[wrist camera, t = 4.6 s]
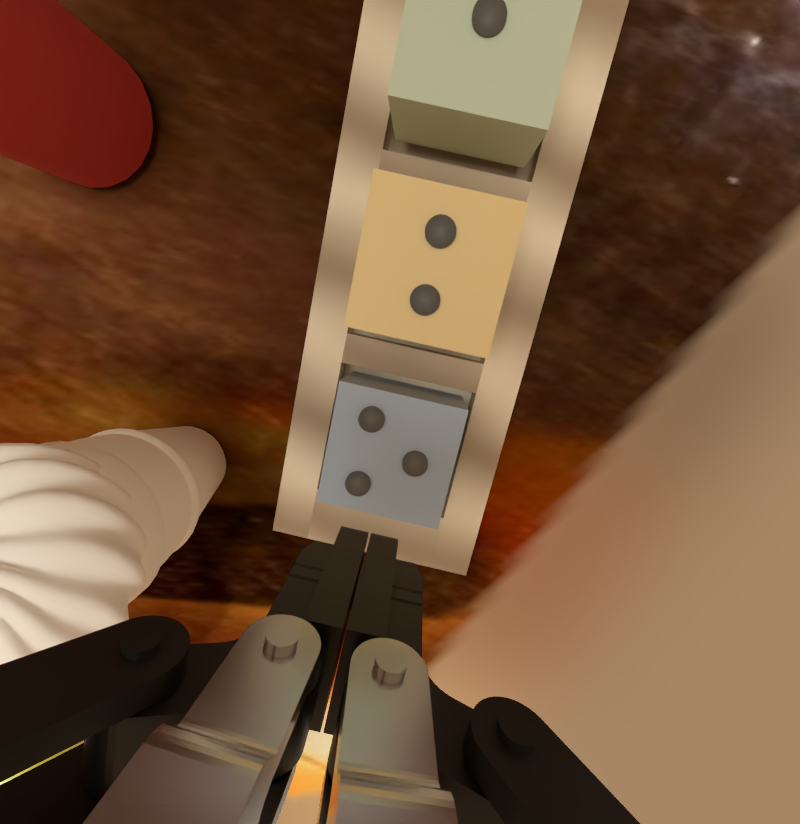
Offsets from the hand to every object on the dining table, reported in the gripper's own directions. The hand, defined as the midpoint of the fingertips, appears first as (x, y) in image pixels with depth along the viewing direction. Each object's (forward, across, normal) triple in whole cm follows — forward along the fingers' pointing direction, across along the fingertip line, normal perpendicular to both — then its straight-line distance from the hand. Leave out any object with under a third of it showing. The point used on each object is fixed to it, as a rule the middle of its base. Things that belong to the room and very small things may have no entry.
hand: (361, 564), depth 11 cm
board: (+14, 0, -8) cm, 16 cm away
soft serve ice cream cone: (+14, +12, +5) cm, 19 cm away
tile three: (+13, 0, 0) cm, 13 cm away
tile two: (+12, 0, -8) cm, 14 cm away
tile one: (+12, 0, -17) cm, 21 cm away
